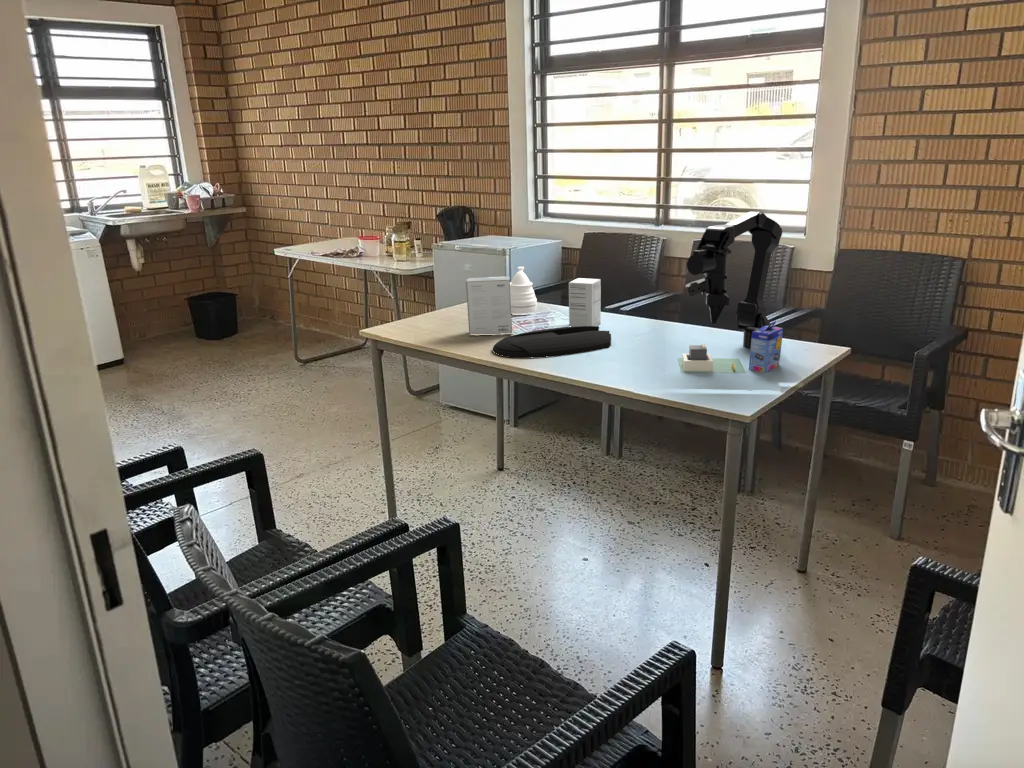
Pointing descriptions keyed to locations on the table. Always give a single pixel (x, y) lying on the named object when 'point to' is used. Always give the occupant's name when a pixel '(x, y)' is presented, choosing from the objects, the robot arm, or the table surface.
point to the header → (697, 364)
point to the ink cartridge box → (765, 348)
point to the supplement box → (584, 302)
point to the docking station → (554, 342)
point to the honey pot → (522, 294)
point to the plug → (697, 352)
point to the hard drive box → (489, 305)
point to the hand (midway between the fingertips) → (713, 323)
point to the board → (721, 366)
